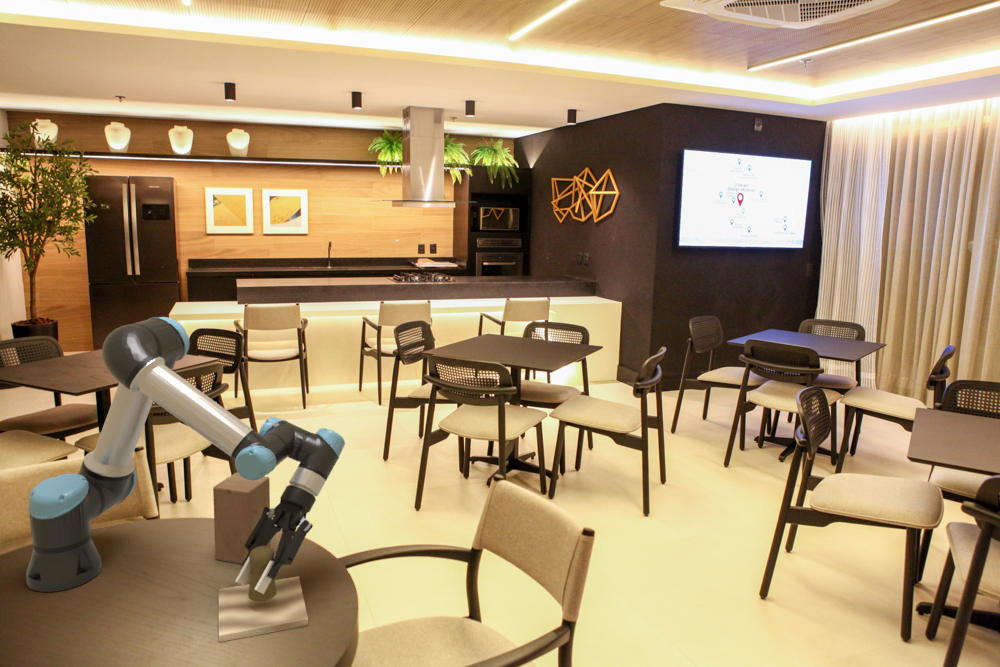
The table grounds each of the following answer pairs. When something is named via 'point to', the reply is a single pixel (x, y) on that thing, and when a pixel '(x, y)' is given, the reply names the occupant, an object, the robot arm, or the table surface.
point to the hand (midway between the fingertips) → (249, 587)
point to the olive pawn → (259, 563)
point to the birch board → (261, 610)
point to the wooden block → (237, 514)
